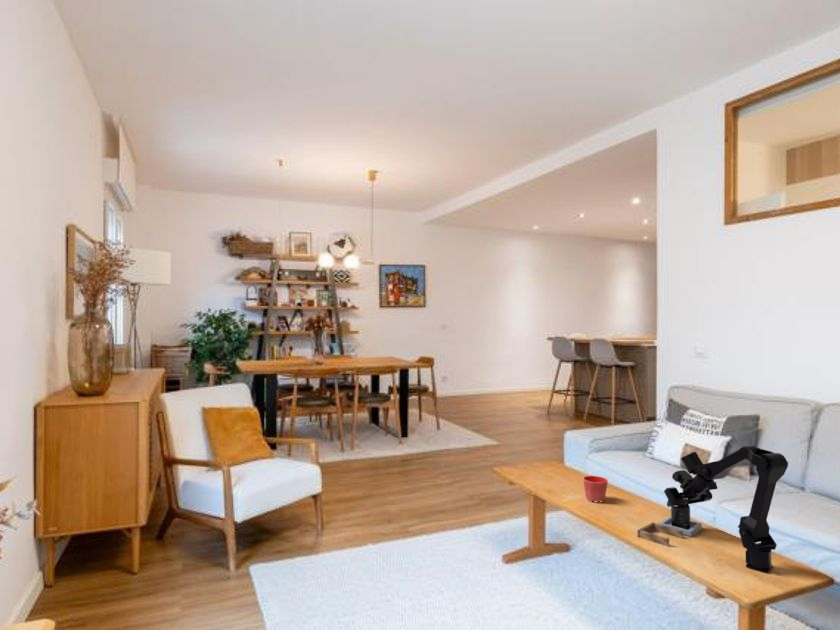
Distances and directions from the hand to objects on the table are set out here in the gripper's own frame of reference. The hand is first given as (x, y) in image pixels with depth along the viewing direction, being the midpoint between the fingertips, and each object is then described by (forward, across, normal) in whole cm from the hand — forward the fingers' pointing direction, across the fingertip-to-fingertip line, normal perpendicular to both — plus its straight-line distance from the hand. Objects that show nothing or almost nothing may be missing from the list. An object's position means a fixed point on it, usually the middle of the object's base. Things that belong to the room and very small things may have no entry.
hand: (677, 504), depth 213 cm
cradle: (+2, +13, +11) cm, 17 cm away
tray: (+5, 0, +7) cm, 9 cm away
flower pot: (+33, +11, -20) cm, 40 cm away
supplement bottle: (+5, 0, +7) cm, 9 cm away
